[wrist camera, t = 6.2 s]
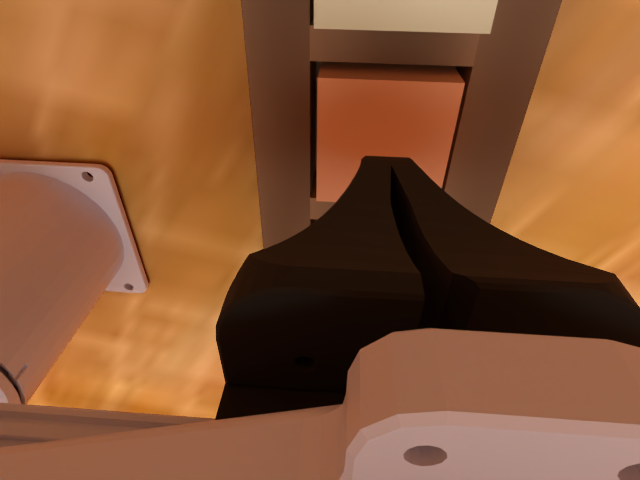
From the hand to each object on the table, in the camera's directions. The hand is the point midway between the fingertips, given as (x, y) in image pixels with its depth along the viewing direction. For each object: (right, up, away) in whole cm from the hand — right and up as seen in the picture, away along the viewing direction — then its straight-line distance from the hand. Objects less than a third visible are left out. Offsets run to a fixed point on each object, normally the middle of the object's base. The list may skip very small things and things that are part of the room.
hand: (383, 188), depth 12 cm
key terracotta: (0, +3, +4) cm, 5 cm away
